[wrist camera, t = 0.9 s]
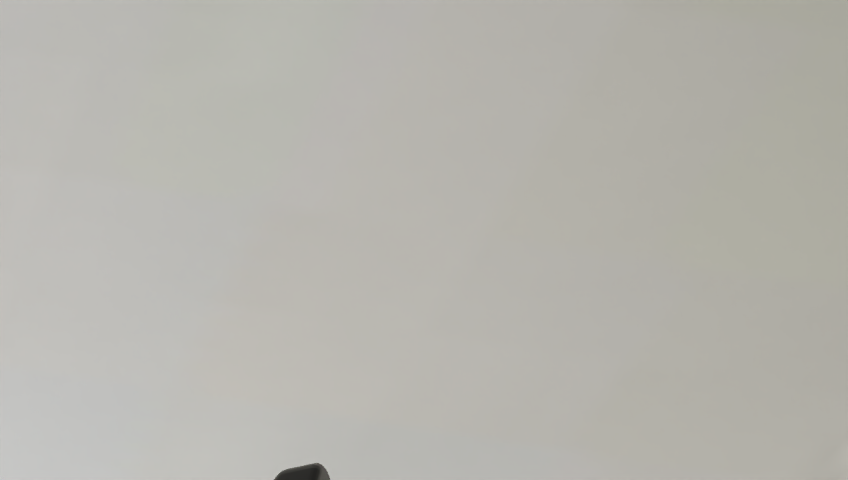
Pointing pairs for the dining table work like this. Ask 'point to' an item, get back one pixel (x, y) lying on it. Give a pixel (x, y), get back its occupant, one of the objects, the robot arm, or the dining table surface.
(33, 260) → the dining table surface
